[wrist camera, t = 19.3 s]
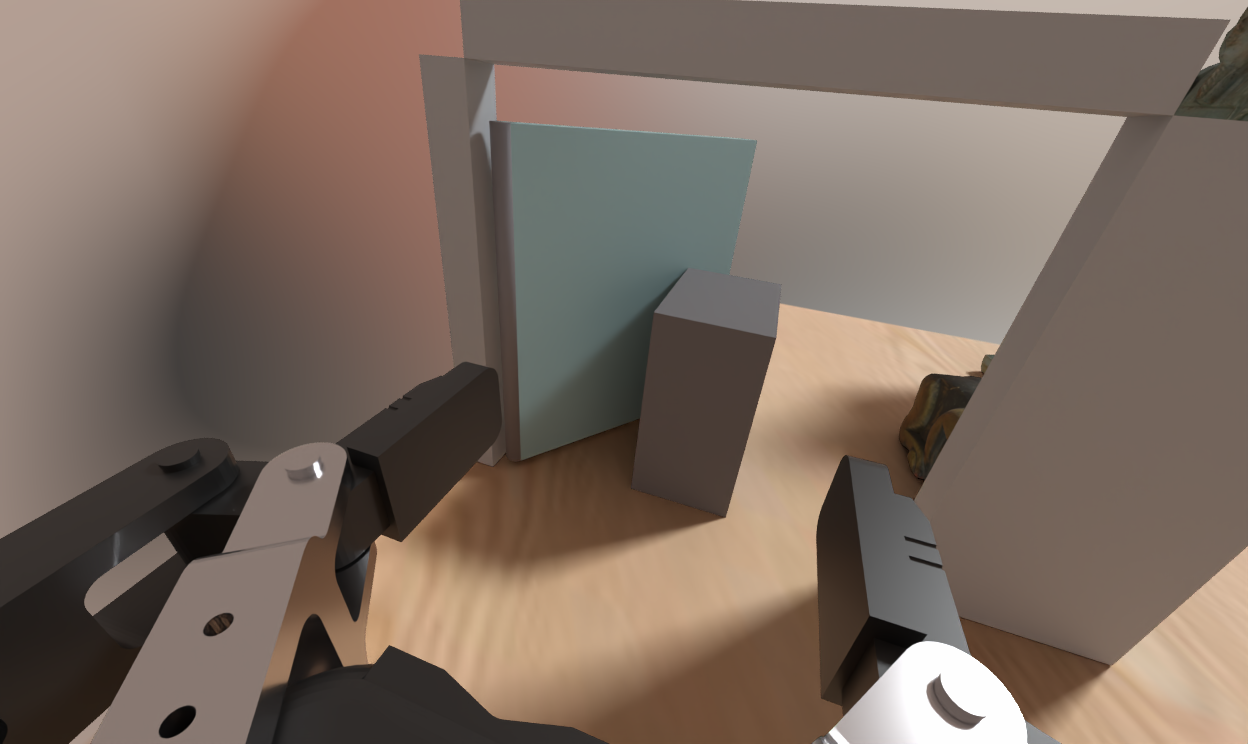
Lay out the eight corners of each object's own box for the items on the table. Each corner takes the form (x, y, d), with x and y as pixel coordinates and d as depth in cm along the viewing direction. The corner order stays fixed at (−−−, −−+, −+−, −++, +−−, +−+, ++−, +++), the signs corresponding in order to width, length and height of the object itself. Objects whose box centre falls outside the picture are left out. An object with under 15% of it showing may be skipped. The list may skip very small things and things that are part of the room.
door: (683, 381, 37) (726, 136, 28) (704, 395, 35) (757, 140, 26) (495, 441, 28) (474, 118, 20) (511, 464, 27) (496, 122, 18)
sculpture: (1086, 621, 21) (1188, 517, 18) (935, 576, 23) (1003, 471, 20) (987, 455, 33) (1038, 371, 29) (889, 432, 34) (928, 349, 31)
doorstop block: (740, 435, 32) (781, 284, 26) (725, 517, 25) (776, 337, 20) (664, 415, 33) (688, 267, 28) (630, 488, 26) (653, 312, 21)
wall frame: (1087, 623, 21) (1655, 56, 10) (1112, 665, 20) (1819, 43, 9) (483, 438, 29) (447, 0, 18) (463, 457, 27) (411, -13, 16)
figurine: (966, 362, 46) (1170, -26, 31) (1038, 369, 46) (1275, -14, 31) (1032, 412, 38) (1345, -70, 23) (1118, 420, 38) (1483, -54, 23)
